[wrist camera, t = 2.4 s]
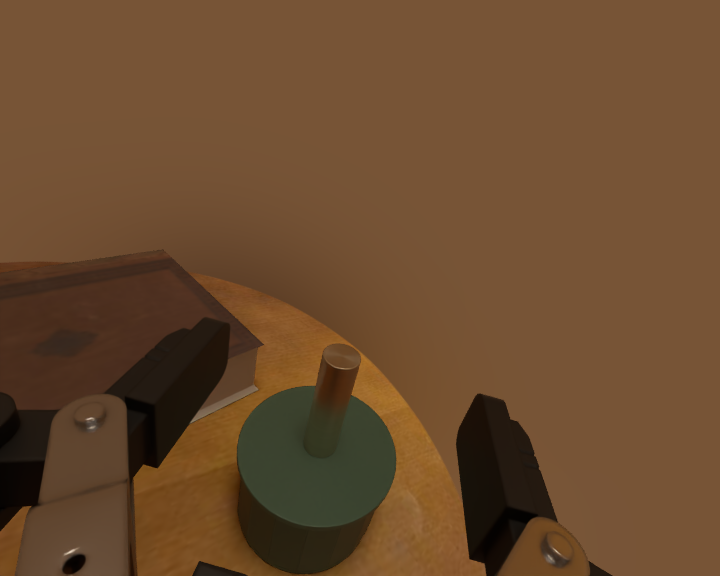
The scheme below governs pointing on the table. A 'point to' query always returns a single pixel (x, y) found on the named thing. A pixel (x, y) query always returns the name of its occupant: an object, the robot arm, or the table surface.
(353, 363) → the tin lid
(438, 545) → the table surface
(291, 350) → the table surface
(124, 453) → the robot arm
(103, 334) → the book
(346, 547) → the tin
